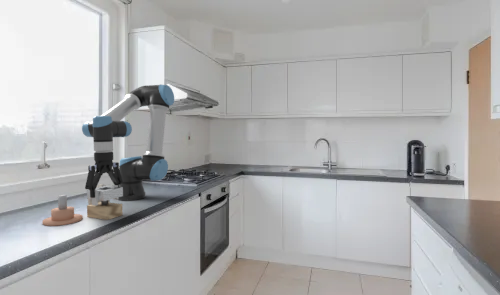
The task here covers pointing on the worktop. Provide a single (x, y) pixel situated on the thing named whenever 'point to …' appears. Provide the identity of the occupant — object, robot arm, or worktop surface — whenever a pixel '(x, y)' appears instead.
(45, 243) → the worktop surface
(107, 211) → the stand
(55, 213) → the hub
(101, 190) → the grey square stone block
